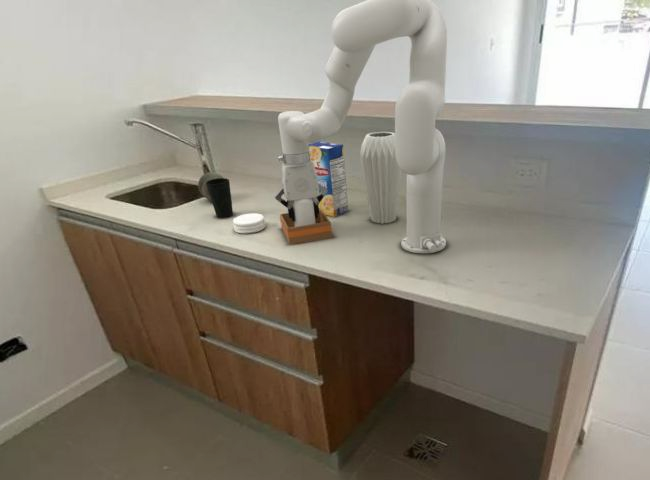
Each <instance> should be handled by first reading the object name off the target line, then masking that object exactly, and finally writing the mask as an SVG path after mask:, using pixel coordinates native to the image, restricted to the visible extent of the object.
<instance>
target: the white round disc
mask: <svg viewBox="0 0 650 480" xmlns="http://www.w3.org/2000/svg"><path fill="white" fill-rule="evenodd" d="M232 224H233V230H234V232H236V233H238V234H245V235H246V234H247V235H248V234H255V233H259V232H261V231H263V230H265V228H266V226H267V225H266V220H265V216H264V215H263V214H260V213H254V212H253V213H243V214H240V215H237V216H235V217H234V218H233V219H232Z"/></svg>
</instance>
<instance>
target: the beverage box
mask: <svg viewBox="0 0 650 480" xmlns="http://www.w3.org/2000/svg"><path fill="white" fill-rule="evenodd" d="M308 144H309V153H310V161H312V162H313V163H314V166H315V170H316V174H317V180H318V183H319V184H320V185H322V186H323V187H324V188H326V189H327V193H326V194H325V196H324V197H323V199H322V200H321V201H320V203H319V205H318V206H319V208H320V209H321V210H322V211H323V213H324V214H325V215H326V216H330V217H334V218H335V217H338V216H340V215H342V214H345V213H347V212H349V203H348V202H349V200H348V192H347V191H348V189H347V188H348V187H347V178H346V177H347V176H346V163H345V151H344V144H341V143H335V142H334V143H333V142H326V141H320V142H317V143H308ZM320 192H321V190H320V189H319V194H320Z"/></svg>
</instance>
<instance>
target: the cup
mask: <svg viewBox="0 0 650 480" xmlns="http://www.w3.org/2000/svg"><path fill="white" fill-rule="evenodd" d="M230 184H231V183H230V179H229V178H225V177H223V178H218V179H212V180H209V181H207V182H206V185H207V188H208V192H209V195H210V198H211V200H210V201H211V203H212V206H213V210H214V213H215V216H216V218H217V219H228V218H231V217H233V216H234V209H233V201H232V193H231V186H230Z"/></svg>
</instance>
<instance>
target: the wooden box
mask: <svg viewBox="0 0 650 480" xmlns="http://www.w3.org/2000/svg"><path fill="white" fill-rule="evenodd" d="M279 221H280V225H281V229H282V232H283V234H284V236H285V238H286V241H287V242H288V244H289V245H295V244H302V243H308V242H314V241H320V240H327V239H331V238H333V233H332V232H333V231H332V222H331V221H330V219H329V218H328V215H326V214H324V213H323V211H322V210H321V209H320V208H319V214H318V218H315V221H316V224H310V225H304V226H297V227H295V224H294V222H293V221H292V220H291V219H289V215H288V212H284V213H279Z"/></svg>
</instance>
